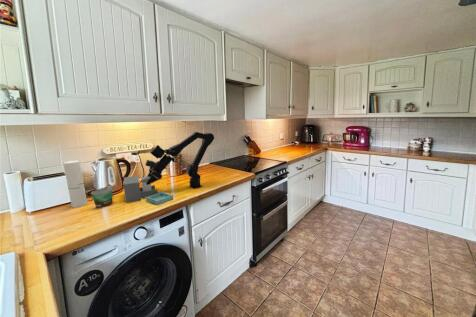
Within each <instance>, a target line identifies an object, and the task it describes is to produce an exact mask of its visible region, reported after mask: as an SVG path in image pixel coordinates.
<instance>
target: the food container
mask: <svg viewBox="0 0 476 317" xmlns="http://www.w3.org/2000/svg"><path fill="white" fill-rule="evenodd" d="M113 190H114V187H113V186H112V184H107V185H106V186H105V187H104V186H103V187H100V188H99V189H97V190H91V196H92V199H93V202H94V205H95V208H96V209H99V208H101V209H102V208H105V207H110V206H111V205H112V204H113Z"/></svg>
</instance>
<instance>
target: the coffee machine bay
mask: <svg viewBox="0 0 476 317" xmlns="http://www.w3.org/2000/svg"><path fill="white" fill-rule="evenodd" d="M151 189H152V190H148V191H143V190H142V187H140V179H139V175H133V176H126V177H124V178H123V191H124V197H125V198H124V199H125V203H127V204H128V203H133V202H140V201H142V199H146V197H149V196H152V195H154V194H157V193H158V192H157V189H156V186H155V185H154V184H153V185H152V184H151Z"/></svg>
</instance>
